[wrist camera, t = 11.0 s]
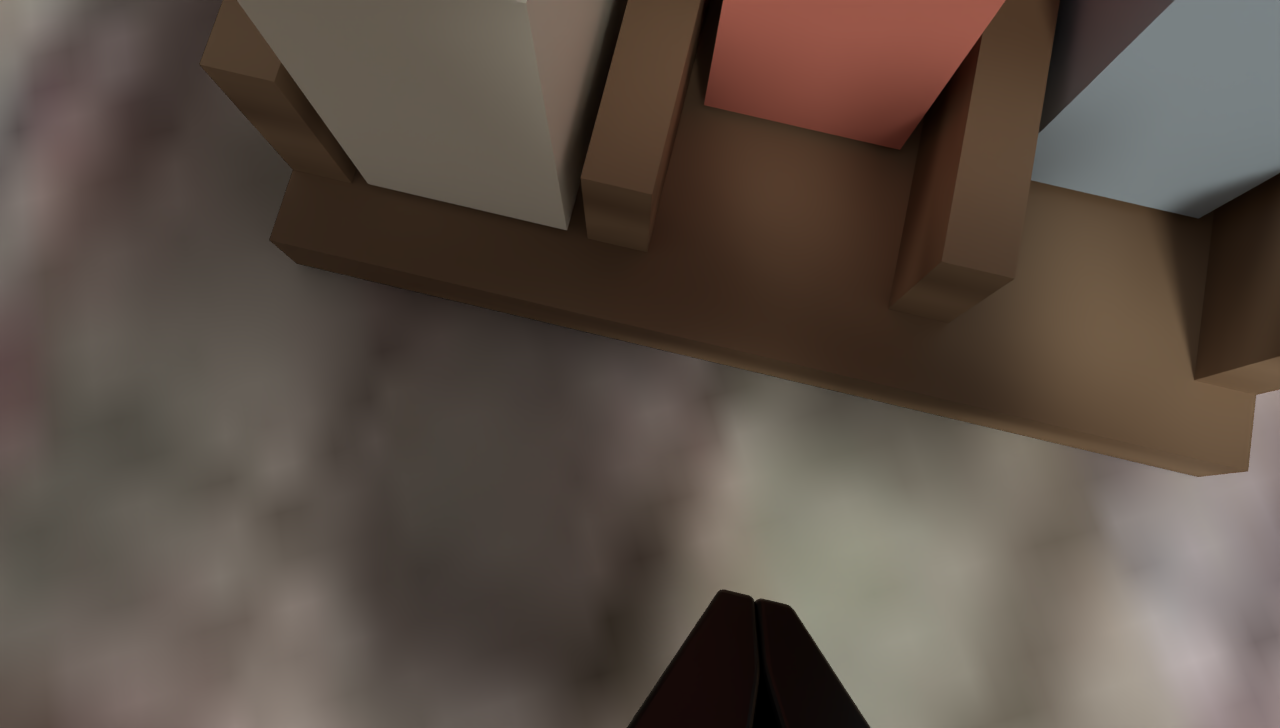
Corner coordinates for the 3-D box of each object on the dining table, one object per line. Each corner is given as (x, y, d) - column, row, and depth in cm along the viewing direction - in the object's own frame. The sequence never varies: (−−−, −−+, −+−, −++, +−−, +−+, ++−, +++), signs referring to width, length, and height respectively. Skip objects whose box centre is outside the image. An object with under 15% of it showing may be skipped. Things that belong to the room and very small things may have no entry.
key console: (1197, 476, 18) (1467, 446, 13) (296, 263, 19) (149, 138, 13) (1258, -51, 21) (1509, -284, 15) (457, -228, 21) (394, -520, 15)
